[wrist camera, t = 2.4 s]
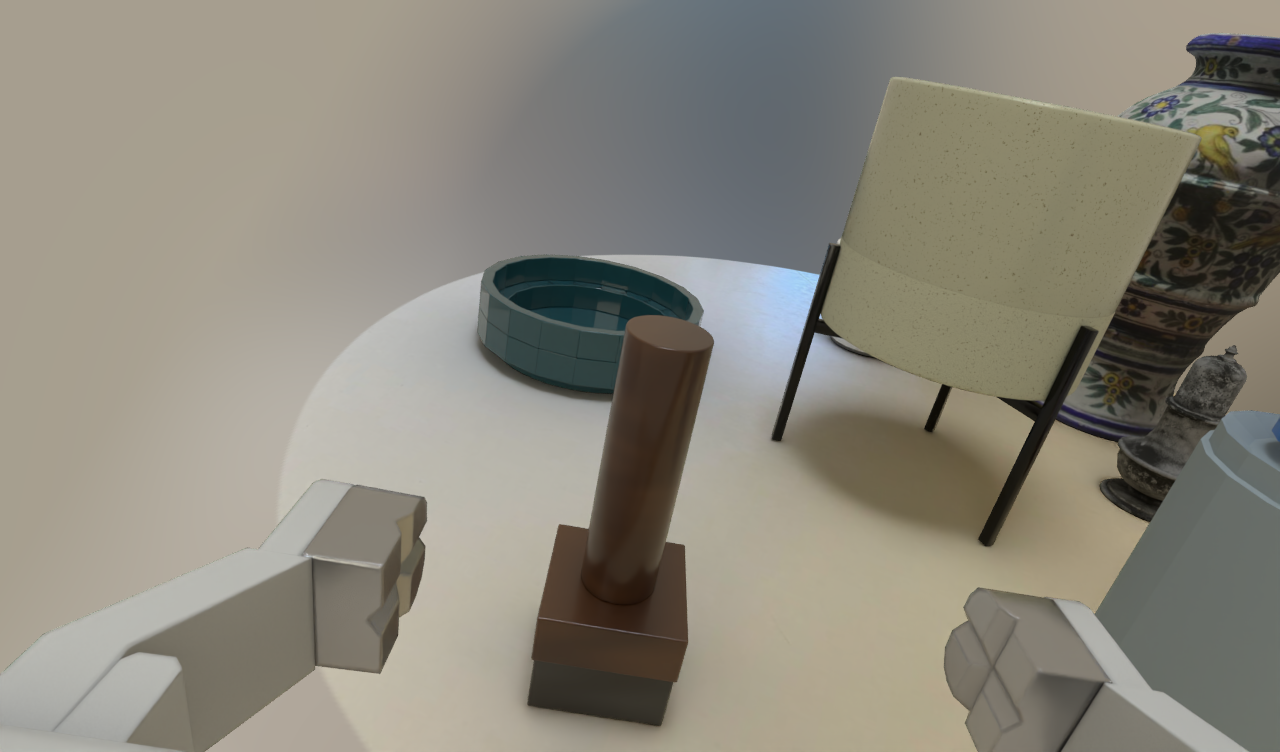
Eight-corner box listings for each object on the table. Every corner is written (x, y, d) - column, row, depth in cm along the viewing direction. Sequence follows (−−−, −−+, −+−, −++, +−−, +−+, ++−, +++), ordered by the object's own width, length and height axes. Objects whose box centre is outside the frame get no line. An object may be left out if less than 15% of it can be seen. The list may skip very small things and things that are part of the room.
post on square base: (523, 707, 25) (578, 349, 19) (545, 604, 30) (595, 290, 24) (664, 729, 26) (761, 382, 20) (664, 624, 30) (743, 317, 24)
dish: (438, 363, 49) (442, 296, 46) (523, 295, 63) (529, 241, 61) (670, 424, 47) (685, 356, 44) (701, 339, 62) (714, 285, 59)
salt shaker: (1195, 509, 49) (1292, 354, 44) (1187, 541, 45) (1295, 374, 40) (1102, 469, 52) (1184, 320, 47) (1088, 496, 48) (1175, 336, 43)
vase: (1070, 455, 54) (1294, 21, 41) (954, 358, 69) (1090, 22, 56) (1248, 472, 57) (1509, 74, 44) (1099, 376, 72) (1260, 60, 59)
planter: (768, 390, 54) (860, 71, 45) (972, 435, 53) (1112, 121, 44) (775, 501, 41) (911, 75, 31) (1051, 565, 40) (1280, 148, 30)
